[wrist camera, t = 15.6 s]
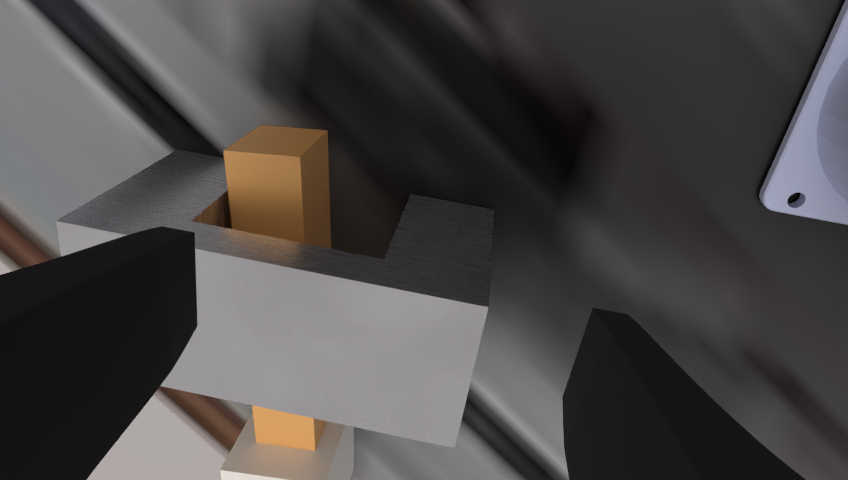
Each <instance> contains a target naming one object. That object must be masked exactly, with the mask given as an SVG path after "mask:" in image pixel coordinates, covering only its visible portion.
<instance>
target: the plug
mask: <svg viewBox="0 0 848 480" xmlns="http://www.w3.org/2000/svg"><path fill="white" fill-rule="evenodd" d="M223 152H224V161H225V170H226V179H227V187H228V196H229V205H230V214H231V223H232V229H234V230H239V231H244V232H249V233H254V234H259V235H264V236H269V237H274V238H280V239H285V240H290V241H295V242H300V243H305V244H310V245H315V246H320V247H325V248H330V249H331V226H330V191H329V157H328V130H317V129H305V128H292V127H280V126H268V125H260V126H258V127H257V128H256V129H254V130H253V131H251V132H250V133H248V134H247V135H245V136H244V137H242V138H241V139H239V140H238V141H236V142H235V143H234V144H232V145H231V146H229V147H228V148H226V149H225V150H223ZM252 410H253V412H252V414H251V416H250V418H249V419H248V421H247V423H246V425H245V426H244V428H243V430H242V432H241V434H240V435H239V437H238V439H237V441H236V442H235V444H234V446H233V448H232V450H231V451H230V453H229V455H228V457H227V458H226V460H225V462H224V464H223V466H222V467H221V469H220V473H221V479H222V480H351V476H352V473H353V470H354V427H352V426H347V425H343V424H338V423H333V422H329V421H324V420H319V419H314V418H310V417H305V416H300V415H296V414H291V413H286V412H281V411H277V410H272V409H267V408H263V407H258V406H253V405H252Z"/></svg>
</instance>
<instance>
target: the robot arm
mask: <svg viewBox="0 0 848 480" xmlns="http://www.w3.org/2000/svg"><path fill="white" fill-rule="evenodd" d="M794 193H800V197H799V198H798V200H797V201H795V202H793V203H787V201H788V198H789V197H790V195H792V194H794ZM759 198H760V201H761V202H762V204H763V205H764V206H765V207H766V208H767V209H769V210H772V211H776V212H781V213H787V214H792V215H797V216H803V217H808V218H813V219H819V220H824V221H830V222H835V223H840V224H846V225H848V0H845V2H844V4H843V7H842V9H841V11H840V13H839V16H838V18H837V20H836V22H835V24H834V27H833V29H832V31H831V33H830V36H829V38H828V40H827V42H826V45H825V47H824V49H823V51H822V54H821V56H820V58H819V60H818V63H817V65H816V67H815V69H814V71H813V74H812V76H811V78H810V80H809V83H808V85H807V87H806V89H805V92H804V94H803V96H802V98H801V101H800V103H799V105H798V107H797V110H796V112H795V114H794V116H793V118H792V121H791V123H790V125H789V127H788V130H787V132H786V134H785V136H784V139H783V141H782V143H781V145H780V148H779V150H778V152H777V154H776V156H775V159H774V161H773V163H772V165H771V168H770V170H769V172H768V174H767V177H766V179H765V181H764V183H763V186H762V188H761V190H760V194H759ZM197 326H198V325H197V293H196V261H195V232H190V231H184V230H179V229H174V228H169V227H163V226H161V227H156V228H151V229H147V230H143V231H140V232H136V233H133V234H130V235H126V236H123V237H120V238H117V239H114V240H111V241H107V242H104V243H101V244H98V245H95V246H92V247H89V248H86V249H83V250H80V251H77V252H74V253H71V254H68V255H65V256H62V257H59V258H56V259H52V260H49V261H46V262H43V263H40V264H36V265H33V266H29V267H26V268H23V269H19V270H16V271H12V272H9V273H6V274H3V275H0V480H86V479H87V478H88V477H89V475H90V474H91V473H92V471H93V470H94V469H95V468H96V466H97V465H98V464H99V462H100V461H101V460H102V459H103V457H104V456H105V455H106V454H107V452H108V451H109V450H110V449H111V447H112V446H113V445H114V444H115V442H116V441H117V440H118V439H119V437H120V436H121V435H122V434H123V432H124V431H125V430H126V429H127V427H128V426H129V425H130V423H131V422H132V421H133V420H134V418H135V417H136V416H137V415H138V413H139V412H140V411H141V409H142V408H143V407H144V406H145V405H146V403H147V402H148V401H149V399H150V398H151V397H152V396H153V394H154V393H155V392H156V390H157V389H158V388H159V387H160V385H161V384H162V383H163V381H164V380H165V379H166V378H167V376H168V375H169V374H170V372H171V371H172V369H173V368H174V366H175V364H176V363H177V361H178V359H179V358H180V356H181V354H182V353H183V351H184V349H185V348H186V346H187V344H188V342H189V340H190V339H191V337H192V335H193V333H194V331H195V330H196V328H197ZM563 428H564V449H565V455H566V461H567V468H568V473H569V479H570V480H805V479H804V478H803V477H802V476H800V475H799V474H798V473H796V472H795V471H794V470H793V469H791V468H790V467H789V466H788V465H786V464H785V463H784V462H783V461H781V460H780V459H779V458H778V457H776V456H775V455H774V454H773V453H772V452H770V451H769V450H768V449H767V448H766V447H765V446H763V445H762V444H761V443H760V442H759V441H758V440H756V439H755V438H754V437H753V436H752V435H751V434H750V433H749V432H748V431H746V430H745V429H744V428H743V427H742V426H741V425H740V424H739V423H738V422H736V421H735V420H734V419H733V418H732V417H731V416H730V415H729V414H728V413H727V412H725V411H724V410H723V409H722V408H721V407H720V406H719V405H718V404H717V403H716V402H715V401H714V400H713V399H712V398H711V397H710V396H709V395H708V394H707V393H706V392H705V391H704V390H703V389H702V388H701V387H700V386H699V385H698V384H697V383H696V382H695V381H694V380H693V379H692V378H691V377H690V376H689V375H688V374H687V373H686V372H685V371H684V370H683V369H682V368H681V367H680V366H679V365H678V364H677V363H676V362H675V361H674V360H673V359H672V358H671V357H670V356H669V355H668V354H667V353H666V352H665V351H664V350H663V349H662V348H661V347H660V346H659V345H658V344H657V343H656V341H655V340H654V339H653V338H652V337H651V336H650V335H649V334H648V333H647V332H646V331H645V330H644V329H643V328H642V327H641V326H640V325H639V324H638V323H637V322H635V321H634V320H633V319H632V318H631V317H630V316H629V315H627V314H622V313H617V312H612V311H606V310H601V309H596V308H593V309H592V312H591V315H590V318H589V321H588V324H587V327H586V330H585V332H584V335H583V338H582V341H581V344H580V347H579V350H578V353H577V356H576V359H575V362H574V365H573V368H572V371H571V374H570V377H569V380H568V383H567V386H566V389H565V392H564V395H563Z"/></svg>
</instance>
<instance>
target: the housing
mask: <svg viewBox="0 0 848 480" xmlns="http://www.w3.org/2000/svg"><path fill="white" fill-rule="evenodd" d="M493 219H494V209H489V208H483V207H478V206H473V205H468V204H462V203H457V202H452V201H447V200H441V199H436V198H431V197H426V196H420V195H415V194H410V197H409V199H408V202H407V204H406V206H405V209H404V211H403V214H402V216H401V219H400V221H399V223H398V226H397V228H396V231H395V233H394V236H393V238H392V240H391V243H390V245H389V248H388V250H387V253H386V255H385V258H384V259H381V258H376V257H371V256H366V255H361V254H356V253H351V252H345V251H340V250H335V249H330V248H325V247H320V246H315V245H310V244H305V243H300V242H295V241H290V240H285V239H280V238H274V237H269V236H264V235H259V234H254V233H249V232H244V231H239V230H234V229H232V223H231V214H230V205H229V196H228V187H227V179H226V170H225V161H224V158H222V157H216V156H211V155H206V154H201V153H195V152H190V151H185V150H180V149H178V150H176V151H175V152H173V153H171V154H170V155H168V156H166V157H164V158H163V159H161V160H159V161H158V162H156V163H154V164H152V165H151V166H149V167H147V168H146V169H144V170H142V171H141V172H139V173H137V174H135V175H134V176H132V177H130V178H129V179H127V180H125V181H123V182H122V183H120V184H118V185H117V186H115V187H113V188H112V189H110V190H108V191H106V192H105V193H103V194H101V195H100V196H98V197H96V198H94V199H93V200H91V201H89V202H88V203H86V204H84V205H83V206H81V207H79V208H77V209H76V210H74V211H72V212H71V213H69V214H67V215H65V216H64V217H62V218H60V219H59V220H57V221H56V224H57V231H58V237H59V244H60V250H61V257H62V256H65V255H68V254H71V253H74V252H77V251H80V250H83V249H86V248H89V247H92V246H95V245H98V244H101V243H104V242H107V241H111V240H114V239H117V238H120V237H123V236H126V235H130V234H133V233H136V232H140V231H143V230H147V229H151V228H156V227H161V226H163V227H169V228H174V229H179V230H184V231H190V232H195V261H196V293H197V325H198V326H197V328H196V330H195V331H194V333H193V335H192V337H191V339H190V340H189V342H188V344H187V346H186V348H185V349H184V351H183V353H182V354H181V356H180V358H179V359H178V361H177V363H176V364H175V366H174V368H173V369H172V371H171V372H170V374H169V375H168V376H167V378H166V379H165V380H164V381H163V383H162V384H161V385H160V386H164V387H168V388H173V389H178V390H182V391H187V392H192V393H197V394H201V395H206V396H211V397H215V398H220V399H225V400H230V401H234V402H239V403H244V404H248V405H253V406H258V407H263V408H267V409H272V410H277V411H281V412H286V413H291V414H296V415H300V416H305V417H310V418H314V419H319V420H324V421H329V422H333V423H338V424H343V425H347V426H352V427H357V428H362V429H366V430H371V431H376V432H380V433H385V434H390V435H395V436H399V437H404V438H409V439H413V440H418V441H423V442H428V443H432V444H437V445H442V446H446V447H451V448H455V444H456V440H457V436H458V432H459V428H460V424H461V420H462V415H463V411H464V407H465V403H466V399H467V395H468V390H469V386H470V382H471V378H472V374H473V370H474V365H475V361H476V357H477V353H478V349H479V345H480V340H481V336H482V332H483V328H484V324H485V320H486V316H487V311H488V307H489V289H490V272H491V254H492V236H493Z"/></svg>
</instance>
